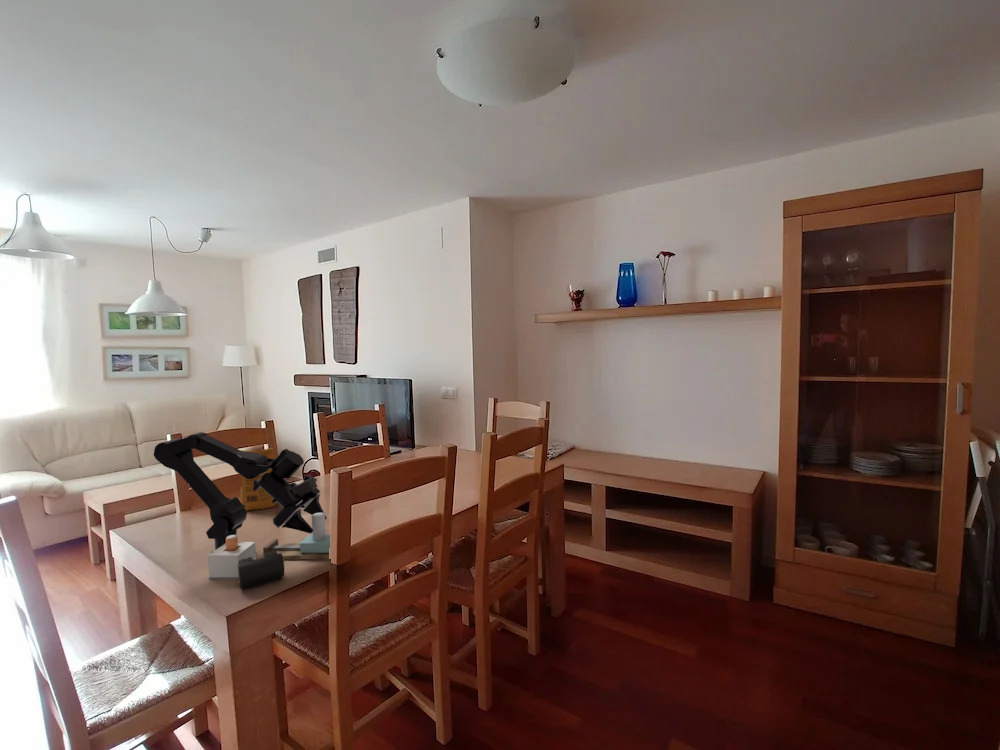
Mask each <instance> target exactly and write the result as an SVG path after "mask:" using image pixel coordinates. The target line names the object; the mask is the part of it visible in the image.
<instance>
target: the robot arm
mask: <svg viewBox="0 0 1000 750" xmlns="http://www.w3.org/2000/svg"><path fill="white" fill-rule="evenodd" d="M193 449H195V450H197V451H200V452H202V453H203V454H206V455H208V456H210V457H213V459H214V458H215V459H217V460H219V461H220V462H223V463H225V464H228V465H230V466H231V467H232V468H233V469H234V471H235V472H236V473H237V474H238V475H240V476H241V477H242V476H243V477H245V478H247V479H253V478H255V477H257V476H259V475H261V474H263V473H265V472H266V471H268V470H270V469H272V471H271V472H270V473H265V474H264V475H263V476H262V477H261V478H260V479H257V480H255V481H254V482H253V483H254V487H253V490H254V491H256V490H258V489H259V488H261V487H262V488H263V489H264V490H265V491H266V492H267V493H268V494H269V495H270V496H271V497H272V498H273V500H272V502H273V503H274V504H275V503H276V504H279V505H280V506H281V507H282V508H281V510H280V511H279V512H278V513H277V514H276V515H275V516H274V517H273V519H272V522H273V525H274V526H275V527H277V529H279V528H280V527H281V528H282V529H284V528H288V529H293V530H296V531H300V532H304V533H306V534H307V533H308V534H309V535H312V534H313V529H312V525H310V524H309V523H308V522H307V521H306V520H305V518H304V517H302V510H301V508H302V509H303V512H306V513H307V514H309V515H311V516H312V515H313V514H315V513H325V511H324V510H323V508H322V505H321V504H320V497H321V494H320V493H321V490H320V489H318V488H317V487H318V485H317V484H318V483H317V481H318V480H317V478H316V477H314V476H313V475H312V474H308V475H306V476H304V478H302V479H303V481H302V482H300V483H298V484H297V483H295V482H291V483H290V482H289V481H288V480H287V479H290V478H292V477H293V475H295V473H297V471H298V470H299V469H300V468H301V467H302V466H303V465H304V463H305V461H304V459H303V457H302V456H301V455H300V454H299V453H296V452H295V451H292V450H289V449H288V448H284V449H283V450H282V451H281V452H280V453H279V454H278V456H277V457H275V458H273V459H272V458H267V457H266V456H265V455H262V454H258V453H254V452H245V451H246V450H240V449H239V448H237V447H234V446H232V445H230V444H227V443H225V442H223V441H221V440H219V439H217V438H214V437H212V436H210V435H208V434H207V433H206V432H203V431H200V432H196V433H192V434H190V435H188V436H186V437H184V438H179V437H177V438H173V439H169V440H167V441H163V442H159V443H157V445H155V447H154V451H153V456H154V459H155V460H156V461H157V462H158V463H160V464H161V465H162V466H163V467H165V468H168V469H170V470H173V471H175V472H176V473H178V475H179V476H180V477H181V478H182V479H183V480H184V481H185V482H186V484H187V485H188V486H189V487H190V488H191V489H192V491H193V492H194V493H195V494H196V495H197V497H198V498H199V499H200V500H201V501H202V502H203V503H204V504H205V505H206V506H207V508H208V509H209V514H210V515H209V516H210V520H211V521H212V523H213V524H212V525H211V526H210V527H209V528H208V529H207V530H206V532H205V533H206V536H207V538H208V539H209V540H214V550H213V551H215V550H216V549H218V548H219V547H221V546H222V545H224V544H225V543H226V537H227V536H230V535H237V536H238V533H237V532H238V530H239V529H241V528H242V526H243V525H244V522H245V521H246V520H247V514H248V511H246V509H245V508H244V507H246V506H245V505H243V504H242V503H241V499H239V498H238V497H237V496H235V497H233V498H229V497H226V496H225V494H223V492H222V491H221V490H220V489H219V488H218V486H217V485H216V484H215V483H214V482H213V481H212V480H211V479H210V477H209V476H208V475H207V474H206V473H205V472H204V471H203V469H202V468H201V467H200V466H199V465H198V464H197V462H196V461H195V460H194V453H193V452H194V451H193ZM325 521H327V516H326V514H325ZM213 551H211V552H210V554H211V553H212V552H213Z"/></svg>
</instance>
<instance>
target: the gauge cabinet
mask: <svg viewBox="0 0 1000 750" xmlns="http://www.w3.org/2000/svg"><path fill="white" fill-rule="evenodd" d="M256 547H257V546H256V542H255V541H238V549H237V550H235V551H226V543H225V544H224V545H222V546H221V547H219V548H218V549H216V550H215V549H214V550H213V552H212V551H211V552H212V553H211V552H210V553H209V554H208V555H207V562H208V563H207V564H208V575H209V576H208V580H211V581H212V580H219V581H221V580H228V581H229V580H232V581H233V580H235V581H237V580H238V581H239V575H238V574H239V573H238V564H239V561H240V560H241V559H245V558H249V557H252V559H253V560H257V552H256V550H257V549H256Z"/></svg>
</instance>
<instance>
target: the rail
mask: <svg viewBox="0 0 1000 750" xmlns="http://www.w3.org/2000/svg"><path fill="white" fill-rule="evenodd" d="M300 543H301V542H299V543H296V542H295V543H288V542H287V543H284V542H283V543H279V538H274V539H272V540H271V541H270V542H268V543H267V544H266V545H265V546H263V547H262V551H263V552H262V553H263V558H264V557H265V556H264V554H265V553H269V552H272V551H276V552H277V553H278V554H280V553H281V554H282V556H283V559H325V560H328V561H329V553H300Z"/></svg>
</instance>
